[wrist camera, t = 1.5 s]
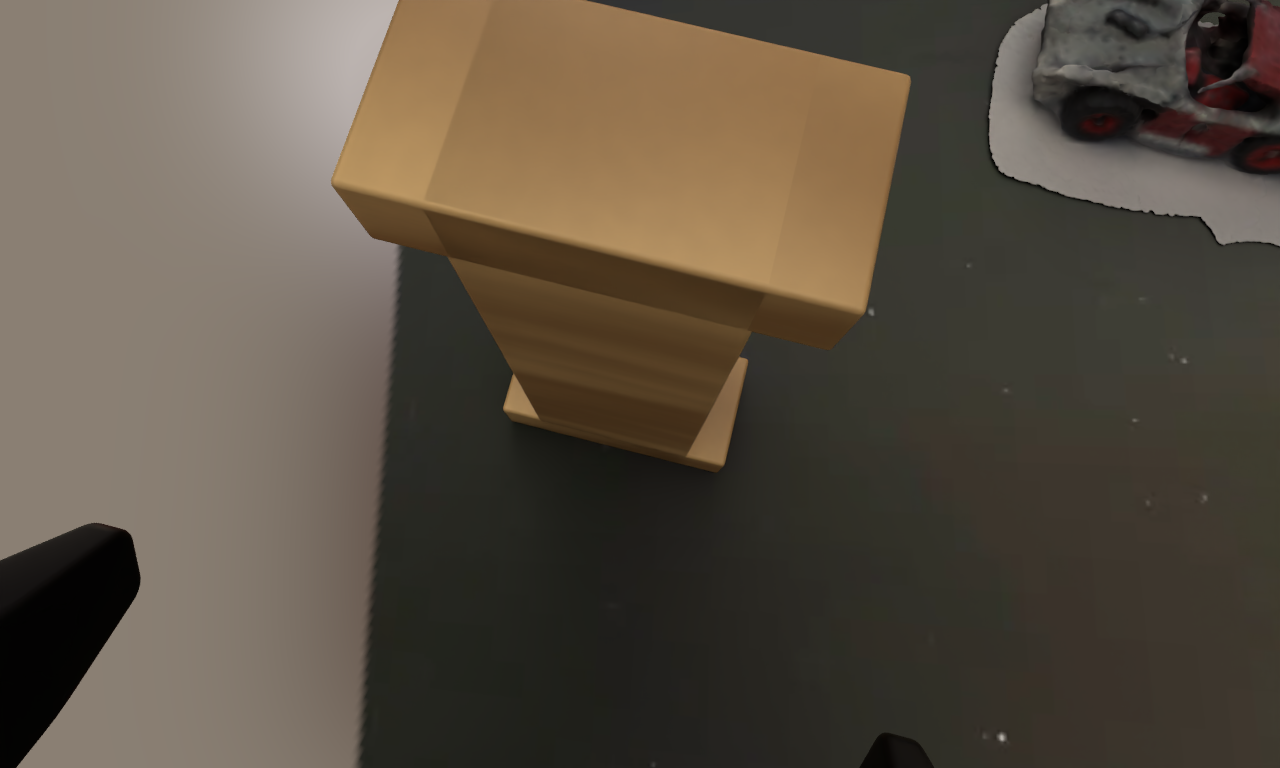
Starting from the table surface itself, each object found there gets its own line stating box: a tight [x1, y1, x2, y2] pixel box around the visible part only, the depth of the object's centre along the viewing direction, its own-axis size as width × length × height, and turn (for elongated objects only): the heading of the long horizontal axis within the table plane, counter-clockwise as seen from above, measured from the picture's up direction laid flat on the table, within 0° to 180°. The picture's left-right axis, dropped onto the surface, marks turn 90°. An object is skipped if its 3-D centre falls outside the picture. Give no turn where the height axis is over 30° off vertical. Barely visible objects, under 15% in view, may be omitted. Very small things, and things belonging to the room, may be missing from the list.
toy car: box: [988, 0, 1280, 246], centre depth 23 cm, size 8×12×3 cm
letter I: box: [331, 0, 911, 473], centre depth 16 cm, size 3×6×14 cm, turn 76°
